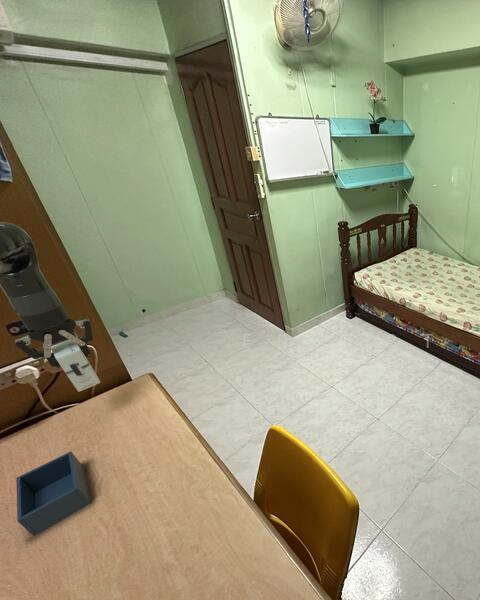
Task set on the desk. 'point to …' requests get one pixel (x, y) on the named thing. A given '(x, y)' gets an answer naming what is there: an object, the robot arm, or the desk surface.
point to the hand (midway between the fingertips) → (72, 360)
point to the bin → (51, 493)
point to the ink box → (75, 365)
